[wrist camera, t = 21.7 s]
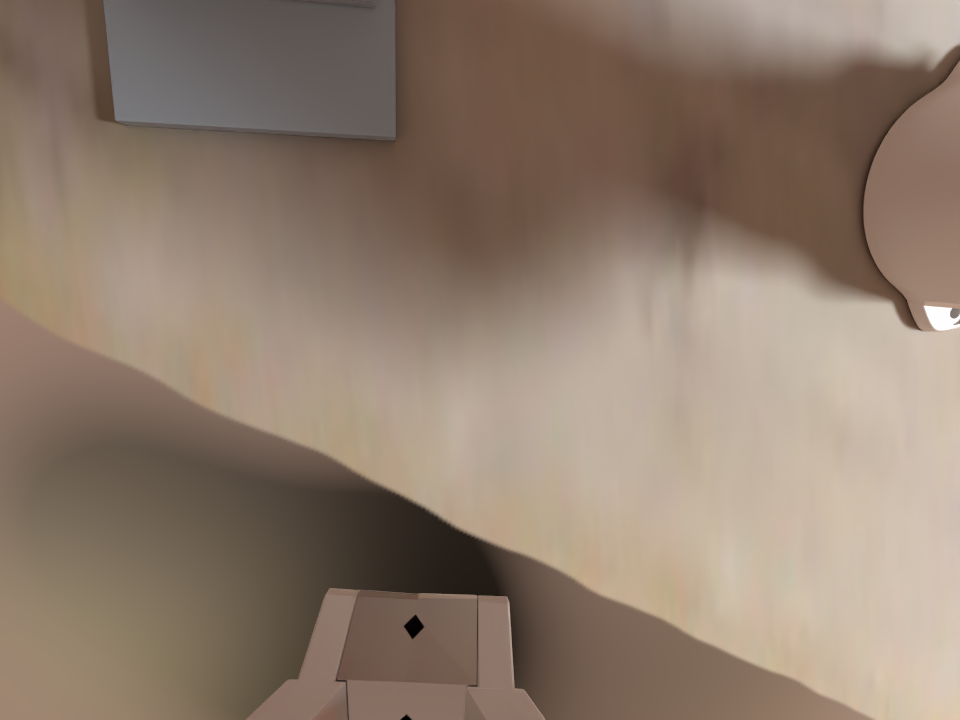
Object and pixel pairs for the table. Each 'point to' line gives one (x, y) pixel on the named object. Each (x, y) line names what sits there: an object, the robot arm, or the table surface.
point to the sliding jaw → (349, 2)
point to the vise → (254, 66)
